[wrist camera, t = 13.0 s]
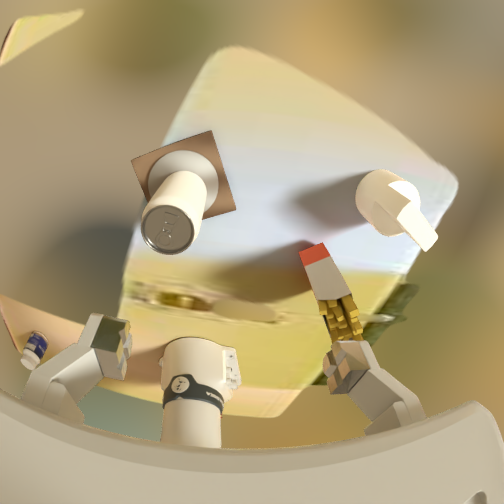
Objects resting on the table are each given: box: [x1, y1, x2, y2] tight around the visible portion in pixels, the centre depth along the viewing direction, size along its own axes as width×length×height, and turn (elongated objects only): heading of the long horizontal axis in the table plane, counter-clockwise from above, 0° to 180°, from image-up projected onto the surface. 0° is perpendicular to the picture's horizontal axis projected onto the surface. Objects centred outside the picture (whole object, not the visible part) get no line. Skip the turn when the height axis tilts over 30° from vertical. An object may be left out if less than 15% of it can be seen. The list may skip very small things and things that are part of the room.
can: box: [141, 171, 207, 255], centre depth 31 cm, size 6×6×12 cm
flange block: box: [131, 130, 236, 220], centre depth 37 cm, size 12×12×2 cm
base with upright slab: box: [355, 169, 438, 252], centre depth 35 cm, size 9×9×12 cm
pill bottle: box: [21, 331, 49, 371], centre depth 49 cm, size 6×6×10 cm
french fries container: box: [299, 242, 364, 344], centre depth 39 cm, size 5×11×18 cm, turn 23°
